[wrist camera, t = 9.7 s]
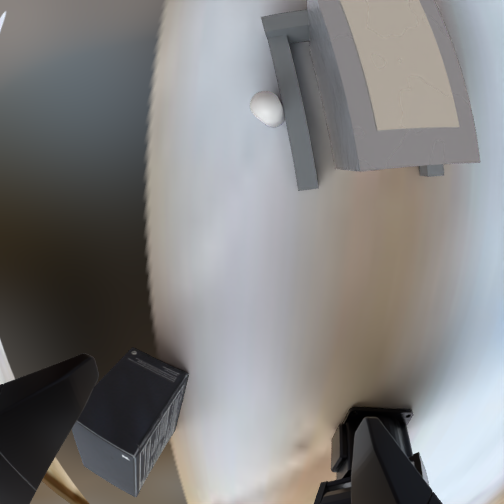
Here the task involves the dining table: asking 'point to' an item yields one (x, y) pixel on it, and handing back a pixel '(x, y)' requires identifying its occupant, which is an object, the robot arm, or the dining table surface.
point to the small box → (130, 419)
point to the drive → (390, 84)
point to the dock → (295, 96)
